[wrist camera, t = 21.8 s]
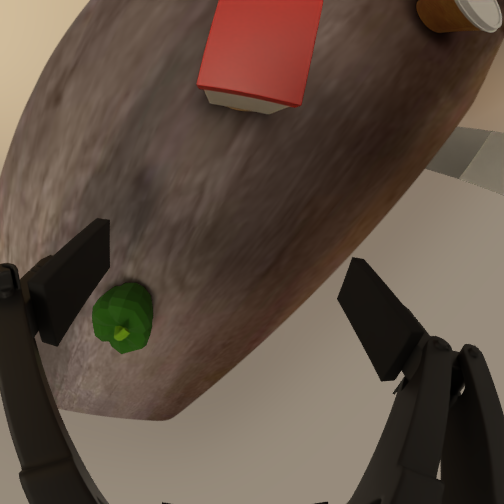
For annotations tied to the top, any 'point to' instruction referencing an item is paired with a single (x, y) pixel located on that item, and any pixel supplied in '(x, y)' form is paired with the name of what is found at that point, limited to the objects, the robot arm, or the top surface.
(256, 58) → the container
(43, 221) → the top surface
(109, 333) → the bell pepper
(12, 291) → the robot arm
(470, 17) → the disposable coffee cup
